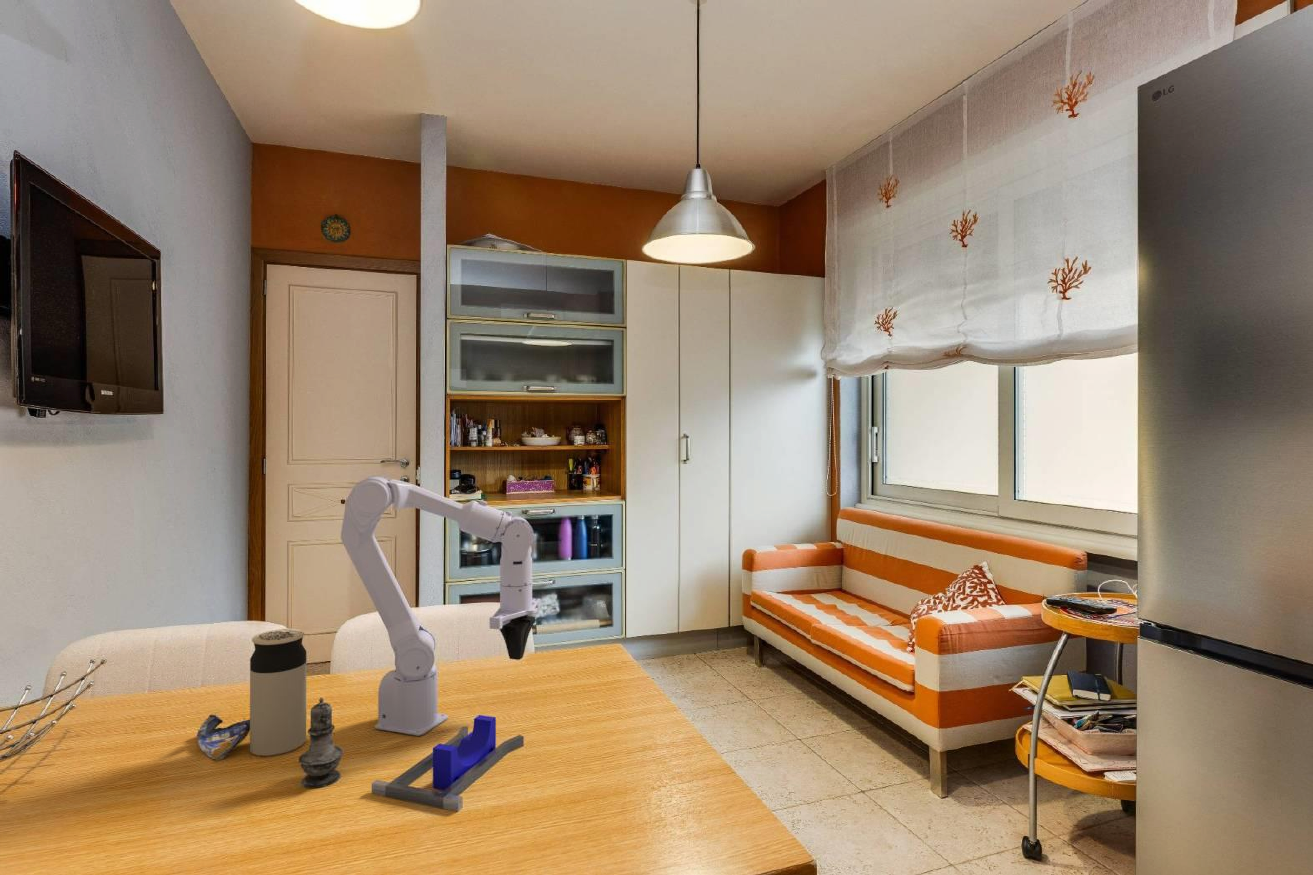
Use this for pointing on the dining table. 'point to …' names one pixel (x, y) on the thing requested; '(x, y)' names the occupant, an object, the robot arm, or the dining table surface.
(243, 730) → the snack package
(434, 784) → the blue cradle block
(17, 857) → the dining table surface
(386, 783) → the rail
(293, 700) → the travel mug
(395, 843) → the dining table surface
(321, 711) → the salt shaker
